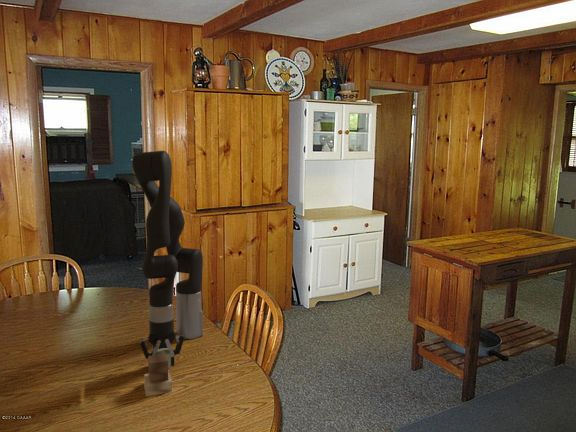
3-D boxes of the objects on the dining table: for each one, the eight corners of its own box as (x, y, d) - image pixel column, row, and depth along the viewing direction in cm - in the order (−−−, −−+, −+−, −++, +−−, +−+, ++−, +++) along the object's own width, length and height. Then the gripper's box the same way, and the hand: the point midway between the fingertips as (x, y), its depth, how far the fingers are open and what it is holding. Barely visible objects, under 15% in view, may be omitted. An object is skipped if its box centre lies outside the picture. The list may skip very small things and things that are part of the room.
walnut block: (166, 372, 146) (165, 353, 144) (168, 380, 141) (167, 360, 140) (148, 375, 144) (148, 356, 143) (150, 383, 139) (150, 363, 138)
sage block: (169, 365, 159) (168, 347, 158) (171, 371, 155) (170, 353, 154) (154, 367, 157) (154, 349, 156) (156, 373, 153) (156, 355, 152)
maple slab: (168, 379, 147) (168, 370, 147) (172, 391, 141) (171, 381, 140) (144, 383, 145) (144, 374, 144) (147, 395, 138) (146, 385, 138)
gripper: (182, 310, 159) (183, 359, 162) (136, 315, 154) (138, 366, 157) (186, 318, 152) (187, 369, 155) (138, 324, 147) (140, 377, 150)
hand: (162, 367), depth 156 cm, fingers closed on sage block, 4 cm apart
